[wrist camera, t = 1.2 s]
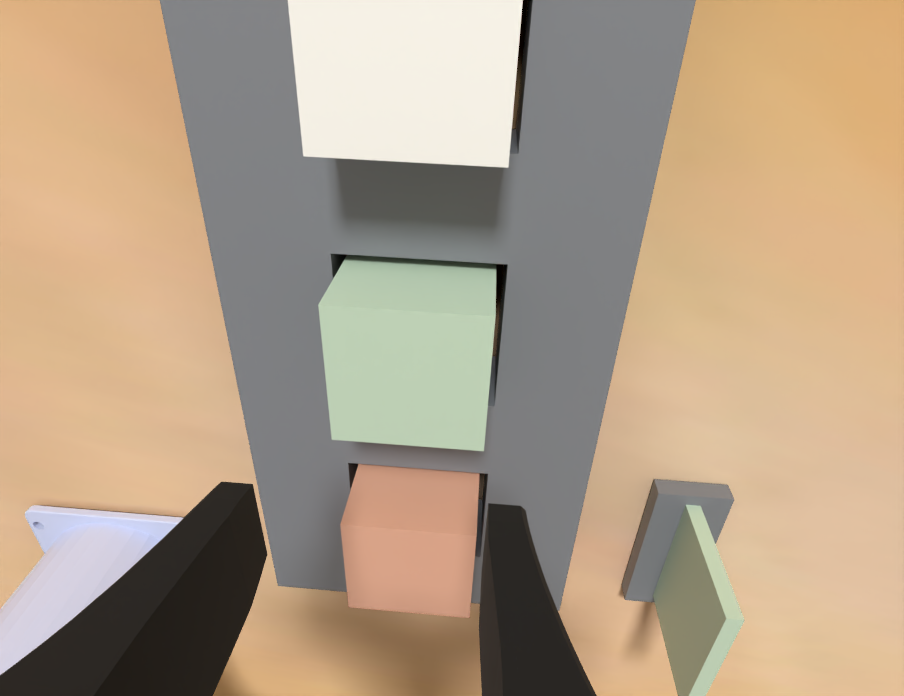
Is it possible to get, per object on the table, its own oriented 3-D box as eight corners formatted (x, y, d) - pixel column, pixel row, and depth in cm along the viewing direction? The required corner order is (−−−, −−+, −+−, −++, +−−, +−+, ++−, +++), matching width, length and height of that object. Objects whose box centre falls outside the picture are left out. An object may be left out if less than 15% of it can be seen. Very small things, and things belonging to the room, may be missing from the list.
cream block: (507, 128, 16) (508, 167, 12) (345, 120, 16) (303, 156, 12) (523, -73, 13) (530, -94, 10) (333, -80, 13) (277, -103, 10)
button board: (553, 551, 27) (559, 610, 24) (298, 529, 27) (278, 585, 25) (704, -216, 13) (754, -266, 10) (179, -230, 13) (103, -281, 11)
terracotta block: (474, 529, 24) (469, 617, 21) (369, 520, 24) (348, 607, 21) (480, 450, 22) (476, 536, 18) (365, 441, 22) (340, 524, 19)
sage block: (487, 372, 20) (483, 451, 16) (360, 363, 20) (331, 439, 17) (496, 252, 17) (495, 316, 14) (353, 244, 18) (318, 304, 14)
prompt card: (685, 590, 27) (724, 721, 23) (621, 584, 28) (647, 713, 23) (727, 484, 24) (786, 614, 19) (654, 479, 24) (693, 606, 19)
